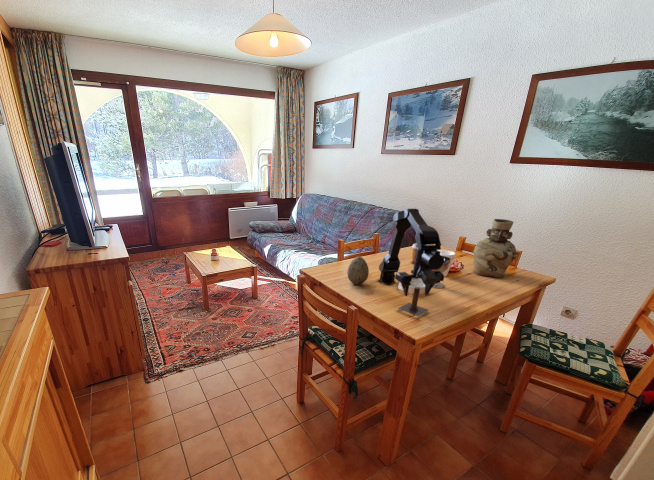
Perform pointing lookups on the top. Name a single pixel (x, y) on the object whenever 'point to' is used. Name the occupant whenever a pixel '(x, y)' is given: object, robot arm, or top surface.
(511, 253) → the ceramic vessel
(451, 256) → the foam cup
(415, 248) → the disposable coffee cup
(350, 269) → the decorative egg
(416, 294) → the stirring stick
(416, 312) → the coaster
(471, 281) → the top surface
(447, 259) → the wine glass
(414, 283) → the bowl
